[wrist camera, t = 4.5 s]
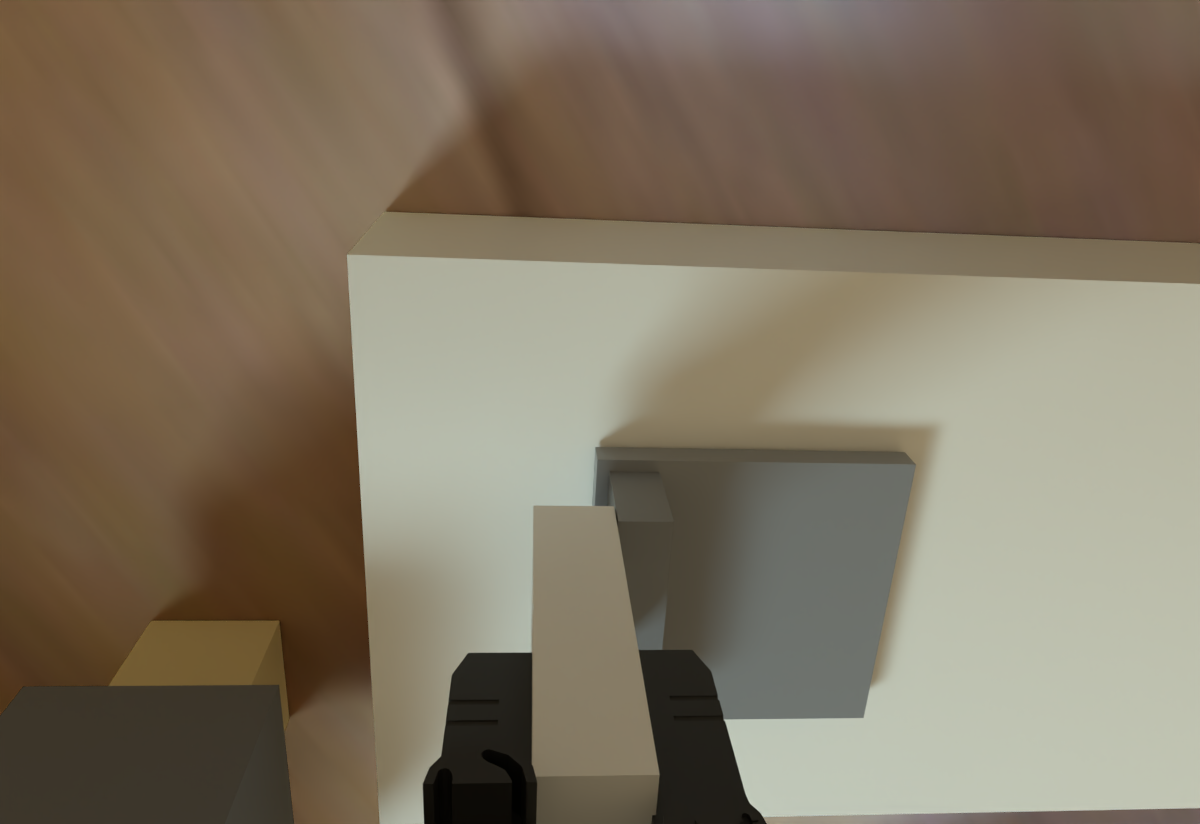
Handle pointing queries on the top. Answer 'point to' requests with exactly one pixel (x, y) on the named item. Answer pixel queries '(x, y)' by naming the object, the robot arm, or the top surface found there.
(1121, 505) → the socket
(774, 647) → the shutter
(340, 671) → the top surface
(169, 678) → the plug
